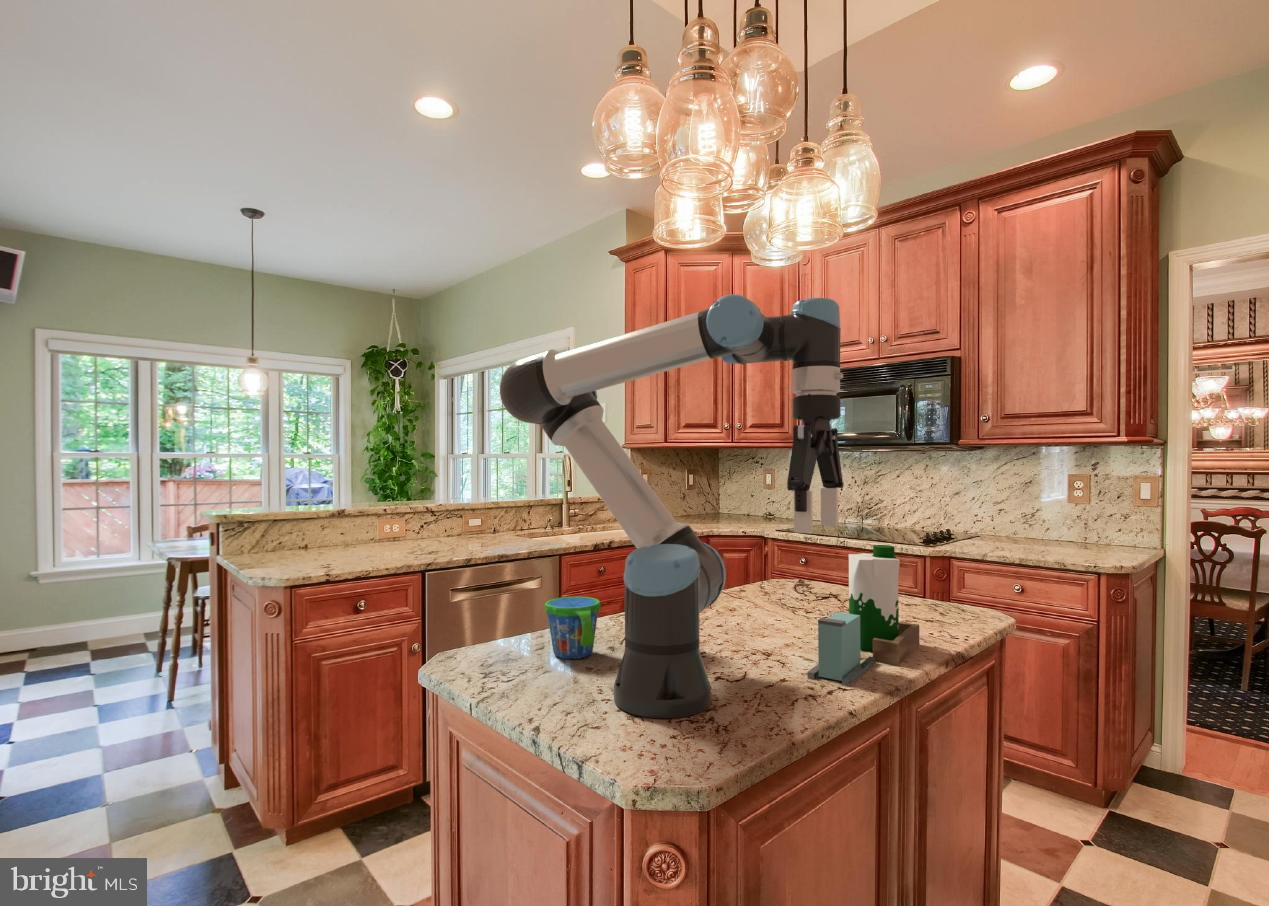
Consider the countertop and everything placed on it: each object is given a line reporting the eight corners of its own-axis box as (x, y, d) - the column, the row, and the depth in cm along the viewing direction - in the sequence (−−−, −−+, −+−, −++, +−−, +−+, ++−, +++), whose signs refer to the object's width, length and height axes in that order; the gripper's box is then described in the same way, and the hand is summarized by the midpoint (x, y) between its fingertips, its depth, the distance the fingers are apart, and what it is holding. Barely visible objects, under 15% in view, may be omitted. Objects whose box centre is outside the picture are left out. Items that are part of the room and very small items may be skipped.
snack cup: (537, 646, 128) (537, 595, 128) (587, 640, 131) (587, 591, 131) (555, 670, 113) (555, 613, 113) (611, 663, 117) (611, 608, 117)
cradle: (820, 651, 123) (820, 630, 123) (848, 633, 136) (847, 614, 137) (897, 665, 115) (897, 643, 115) (919, 644, 128) (919, 624, 128)
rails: (807, 677, 109) (807, 671, 109) (837, 655, 121) (837, 650, 121) (849, 686, 104) (849, 680, 104) (876, 663, 116) (876, 657, 116)
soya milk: (904, 652, 122) (903, 549, 123) (857, 652, 123) (856, 549, 123) (889, 640, 131) (888, 543, 131) (844, 639, 132) (843, 543, 132)
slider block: (818, 676, 108) (817, 619, 109) (838, 661, 116) (837, 608, 117) (842, 681, 106) (841, 623, 106) (860, 665, 114) (860, 612, 114)
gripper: (812, 387, 92) (812, 538, 92) (861, 399, 111) (862, 524, 110) (764, 390, 96) (764, 534, 96) (819, 401, 115) (820, 522, 115)
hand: (816, 529), depth 103 cm, fingers open, 11 cm apart
